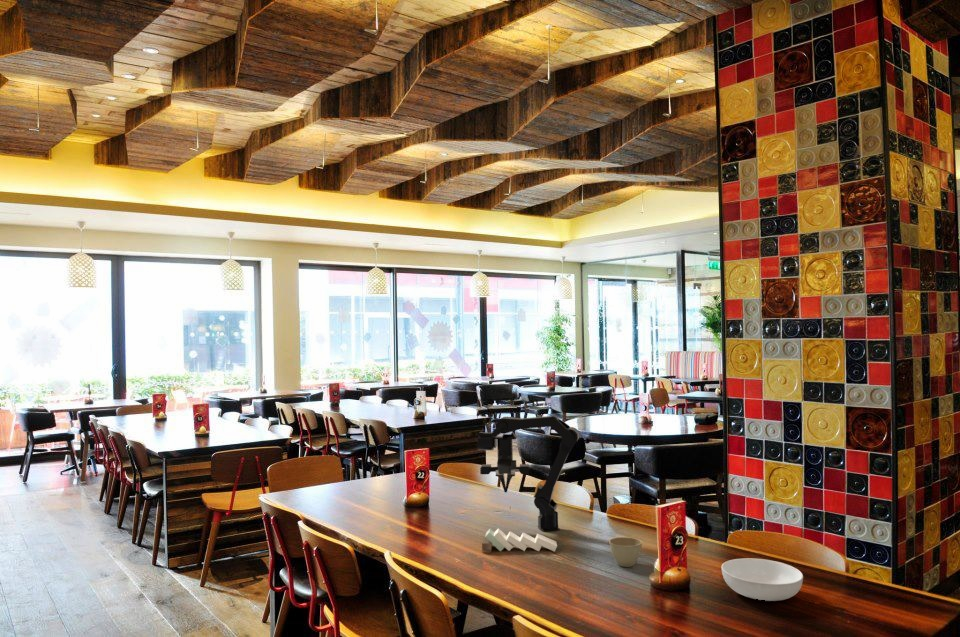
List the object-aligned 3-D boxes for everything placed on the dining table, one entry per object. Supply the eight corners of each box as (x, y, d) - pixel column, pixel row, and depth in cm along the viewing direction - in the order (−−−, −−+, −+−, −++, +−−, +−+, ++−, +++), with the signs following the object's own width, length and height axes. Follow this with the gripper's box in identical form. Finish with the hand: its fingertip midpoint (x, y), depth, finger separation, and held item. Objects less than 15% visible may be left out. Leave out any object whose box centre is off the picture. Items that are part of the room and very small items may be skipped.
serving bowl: (762, 615, 180) (761, 588, 180) (705, 588, 199) (705, 564, 200) (821, 601, 189) (820, 575, 189) (761, 577, 208) (761, 554, 208)
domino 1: (513, 542, 241) (498, 528, 242) (513, 546, 236) (498, 532, 237) (509, 546, 241) (494, 532, 242) (509, 551, 236) (493, 536, 237)
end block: (492, 545, 243) (492, 536, 243) (491, 552, 235) (491, 543, 235) (483, 545, 243) (483, 536, 243) (482, 552, 235) (482, 543, 235)
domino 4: (556, 541, 240) (537, 533, 241) (557, 546, 235) (537, 537, 236) (554, 547, 240) (535, 538, 241) (554, 551, 235) (535, 543, 236)
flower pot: (643, 560, 224) (643, 538, 225) (640, 571, 215) (639, 547, 215) (612, 558, 228) (611, 535, 228) (607, 567, 218) (607, 544, 218)
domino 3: (541, 541, 241) (522, 532, 241) (541, 546, 236) (522, 536, 236) (538, 546, 241) (520, 537, 241) (538, 551, 236) (520, 541, 236)
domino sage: (505, 542, 241) (490, 528, 241) (504, 547, 236) (489, 532, 236) (501, 547, 241) (486, 532, 241) (500, 551, 236) (485, 536, 237)
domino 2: (527, 541, 241) (509, 531, 241) (527, 546, 236) (509, 535, 236) (524, 546, 241) (506, 536, 241) (524, 551, 236) (506, 540, 236)
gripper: (478, 454, 259) (479, 497, 259) (529, 454, 258) (530, 497, 258) (480, 449, 270) (481, 490, 270) (529, 449, 269) (530, 490, 269)
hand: (505, 492), depth 266 cm, fingers closed
